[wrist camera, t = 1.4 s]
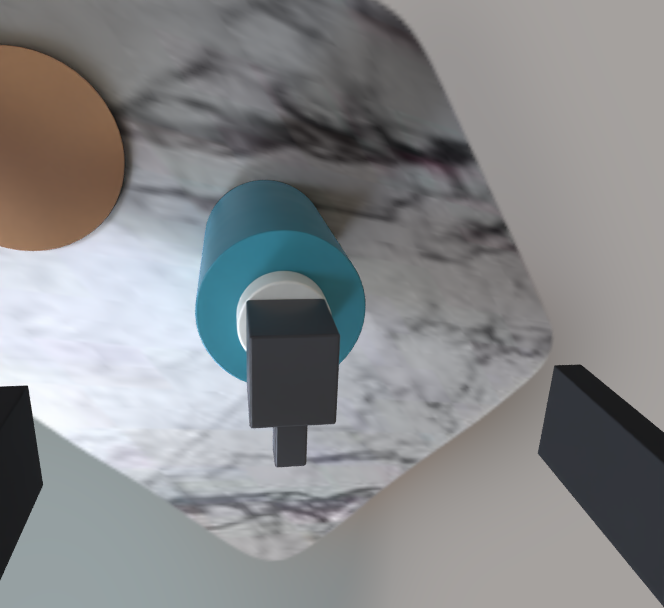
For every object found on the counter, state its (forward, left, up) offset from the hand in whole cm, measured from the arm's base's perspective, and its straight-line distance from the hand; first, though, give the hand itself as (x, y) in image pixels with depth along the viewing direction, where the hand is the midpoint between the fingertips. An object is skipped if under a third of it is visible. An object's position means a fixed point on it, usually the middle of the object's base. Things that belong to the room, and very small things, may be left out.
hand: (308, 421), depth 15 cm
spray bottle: (0, 0, -17) cm, 17 cm away
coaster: (-4, -11, -17) cm, 20 cm away
